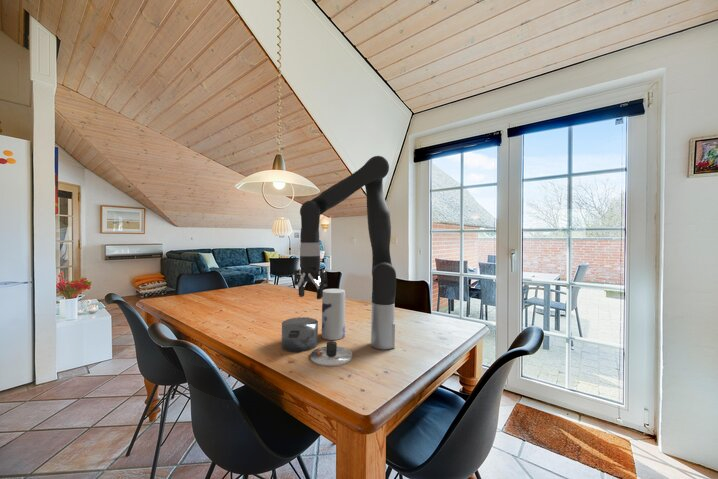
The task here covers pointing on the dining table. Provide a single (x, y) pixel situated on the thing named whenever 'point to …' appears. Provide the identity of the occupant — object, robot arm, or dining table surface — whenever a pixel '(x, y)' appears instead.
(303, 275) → the robot arm
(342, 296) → the container
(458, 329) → the dining table surface
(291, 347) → the dark grey rounded piece
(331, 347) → the lid
